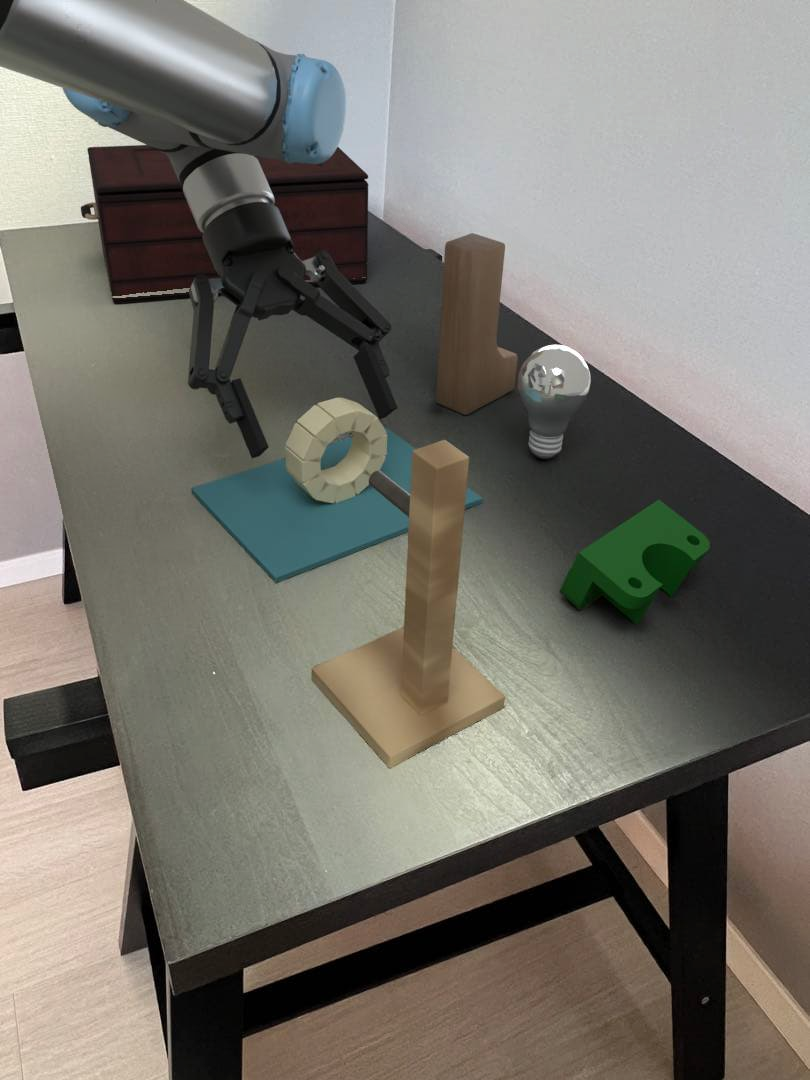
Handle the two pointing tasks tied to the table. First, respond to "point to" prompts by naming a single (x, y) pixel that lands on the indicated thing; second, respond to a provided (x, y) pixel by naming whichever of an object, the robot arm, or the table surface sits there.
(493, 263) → the wooden block
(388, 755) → the hook stand
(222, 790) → the table surface
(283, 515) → the mat
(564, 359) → the light bulb
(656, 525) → the clamp
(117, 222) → the storage box
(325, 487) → the segmented ring
